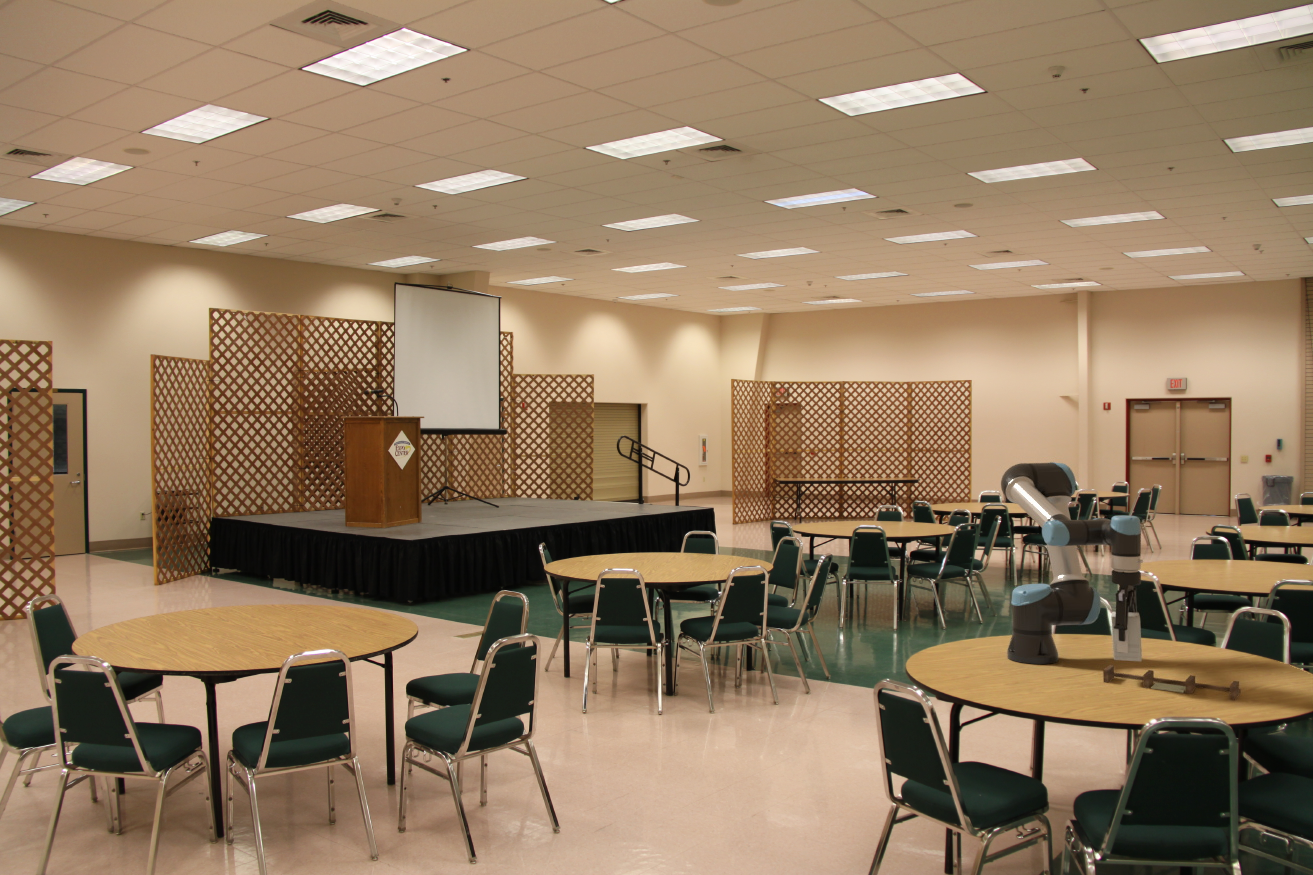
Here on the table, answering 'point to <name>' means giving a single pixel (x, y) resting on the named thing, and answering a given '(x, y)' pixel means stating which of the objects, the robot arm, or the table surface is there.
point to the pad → (1169, 687)
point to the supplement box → (1129, 639)
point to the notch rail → (1171, 681)
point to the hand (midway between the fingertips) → (1126, 648)
